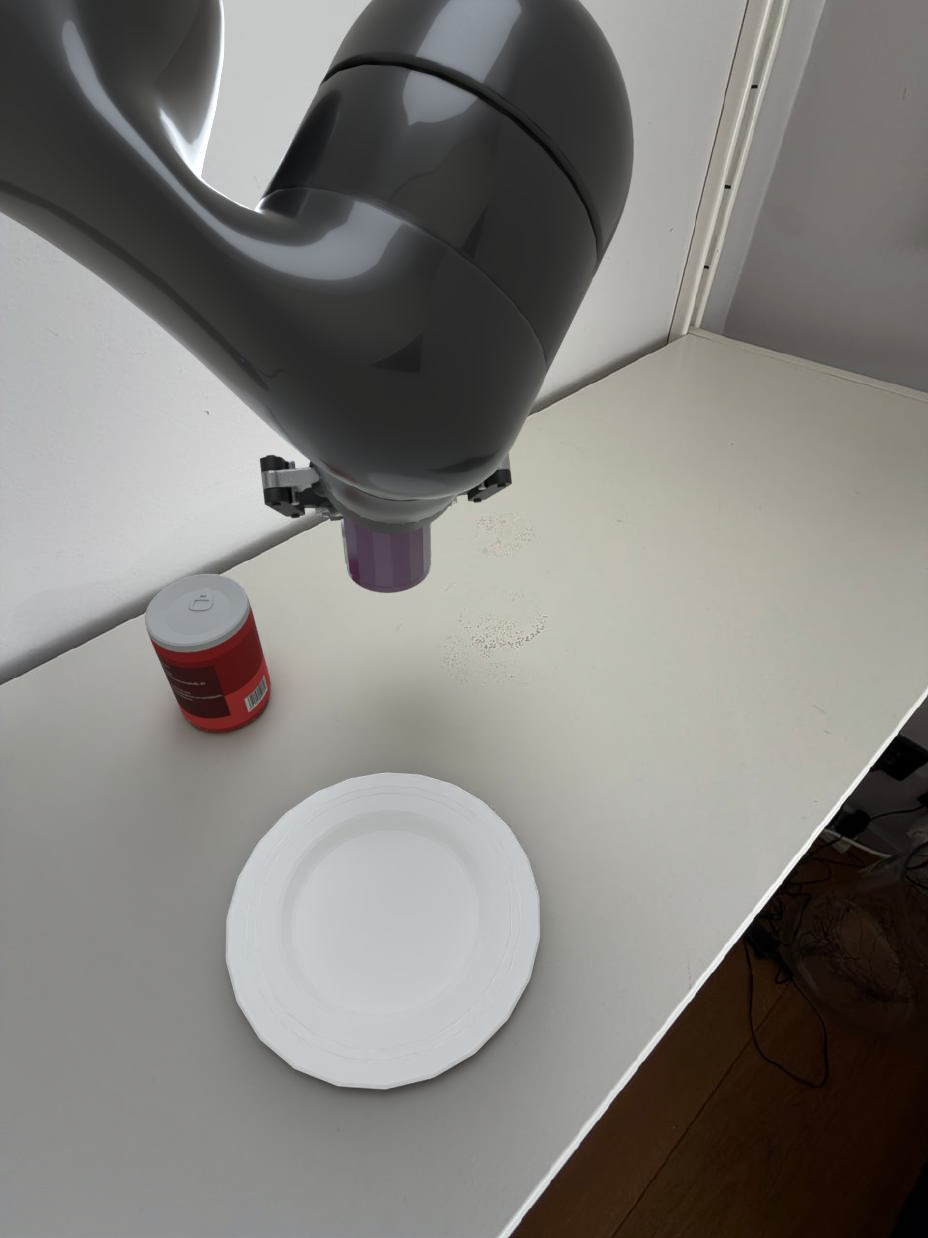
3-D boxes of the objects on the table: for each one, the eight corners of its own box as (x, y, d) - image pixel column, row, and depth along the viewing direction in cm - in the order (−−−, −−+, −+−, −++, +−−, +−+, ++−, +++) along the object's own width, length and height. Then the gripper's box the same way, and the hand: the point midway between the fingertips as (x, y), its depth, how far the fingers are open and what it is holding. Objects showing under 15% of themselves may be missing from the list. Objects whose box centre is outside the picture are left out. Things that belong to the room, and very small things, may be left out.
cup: (383, 606, 48) (376, 508, 42) (329, 562, 51) (316, 466, 45) (448, 566, 51) (450, 470, 45) (394, 527, 54) (389, 433, 48)
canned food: (267, 655, 65) (243, 564, 57) (278, 723, 60) (254, 633, 52) (179, 673, 63) (143, 582, 56) (183, 745, 58) (143, 656, 50)
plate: (517, 1133, 40) (520, 1127, 39) (173, 1055, 43) (165, 1046, 41) (552, 809, 55) (555, 796, 53) (294, 764, 57) (290, 750, 56)
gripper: (540, 349, 33) (480, 439, 50) (221, 366, 31) (270, 454, 48) (556, 509, 33) (491, 546, 50) (240, 537, 31) (282, 565, 48)
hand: (383, 501), depth 49 cm, fingers closed on cup, 6 cm apart
